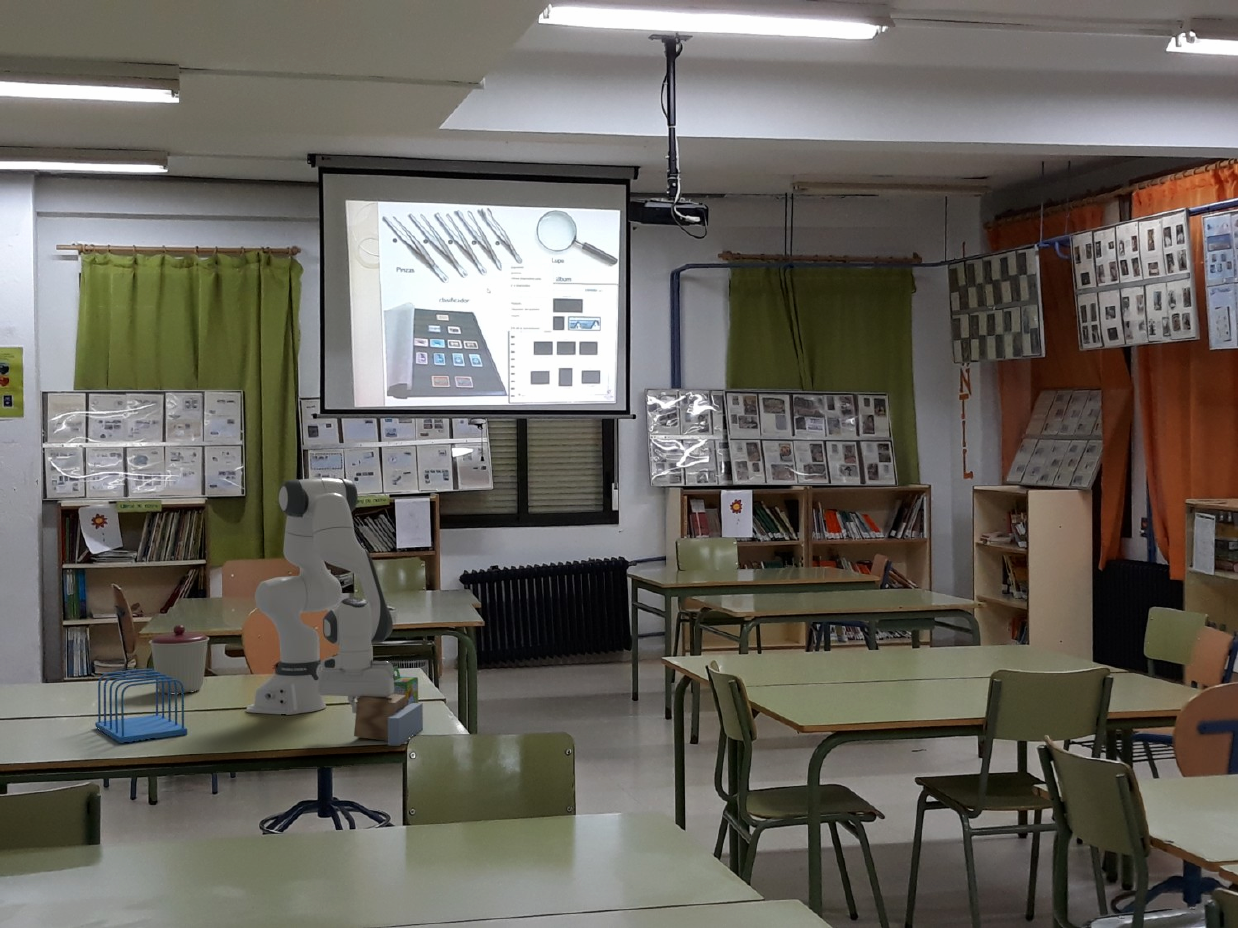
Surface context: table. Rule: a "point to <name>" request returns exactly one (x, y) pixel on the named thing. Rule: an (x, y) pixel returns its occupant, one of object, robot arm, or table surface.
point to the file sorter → (141, 725)
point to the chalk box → (406, 687)
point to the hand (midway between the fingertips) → (356, 712)
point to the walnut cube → (376, 715)
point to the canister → (180, 658)
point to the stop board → (405, 724)
